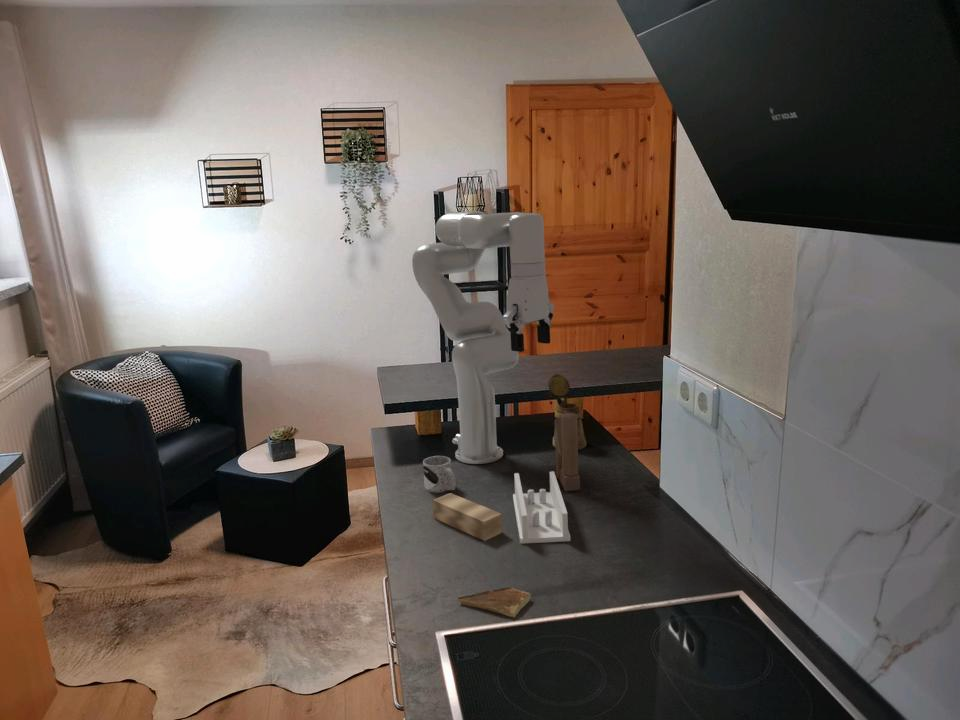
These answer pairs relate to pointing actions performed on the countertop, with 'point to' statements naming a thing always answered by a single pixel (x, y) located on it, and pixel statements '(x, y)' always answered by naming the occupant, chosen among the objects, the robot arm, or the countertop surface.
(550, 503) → the peg stand
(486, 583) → the countertop surface
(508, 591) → the shard
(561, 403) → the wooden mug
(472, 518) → the wooden bar
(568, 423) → the wooden block
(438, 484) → the mug
